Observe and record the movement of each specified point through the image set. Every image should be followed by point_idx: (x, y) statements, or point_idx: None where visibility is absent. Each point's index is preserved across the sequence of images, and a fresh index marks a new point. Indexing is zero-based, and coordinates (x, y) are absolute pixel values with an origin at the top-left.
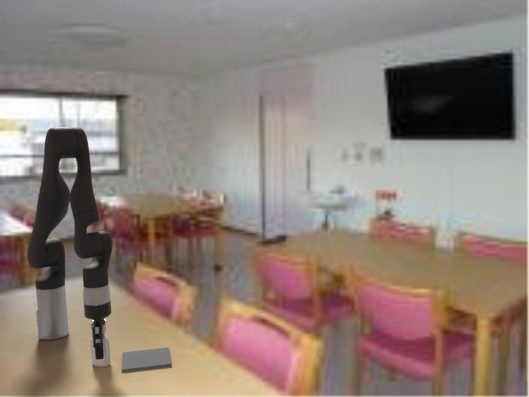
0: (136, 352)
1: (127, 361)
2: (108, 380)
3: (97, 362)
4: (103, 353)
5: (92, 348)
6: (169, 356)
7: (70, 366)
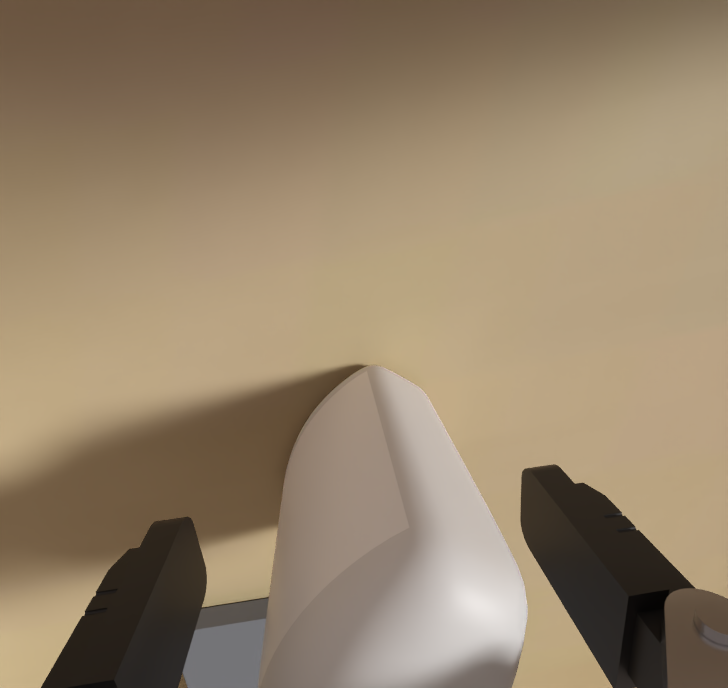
0: None
1: None
2: (26, 553)
3: (303, 443)
4: (187, 635)
5: (354, 488)
6: None
7: (360, 136)
